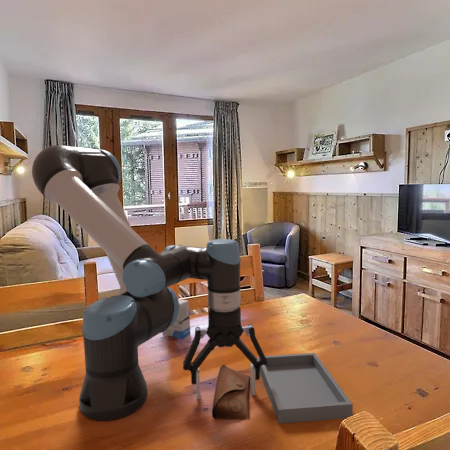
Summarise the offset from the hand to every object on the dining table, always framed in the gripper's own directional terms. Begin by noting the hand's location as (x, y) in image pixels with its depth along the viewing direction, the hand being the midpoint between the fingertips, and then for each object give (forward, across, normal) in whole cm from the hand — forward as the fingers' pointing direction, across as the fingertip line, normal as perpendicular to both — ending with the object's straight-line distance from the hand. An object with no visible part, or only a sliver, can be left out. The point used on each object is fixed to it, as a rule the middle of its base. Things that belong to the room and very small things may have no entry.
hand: (225, 394), depth 85 cm
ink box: (0, -13, +36) cm, 38 cm away
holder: (0, +18, 0) cm, 18 cm away
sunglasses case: (+1, +2, 0) cm, 2 cm away
